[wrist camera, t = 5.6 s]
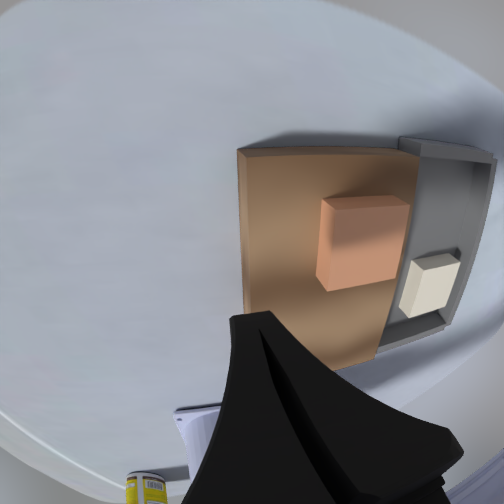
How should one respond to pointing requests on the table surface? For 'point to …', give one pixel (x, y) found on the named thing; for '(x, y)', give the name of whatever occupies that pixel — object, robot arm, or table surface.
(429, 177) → the box
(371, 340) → the plate
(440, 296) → the tile cream
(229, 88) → the table surface
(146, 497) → the supplement bottle
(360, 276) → the tile terracotta
